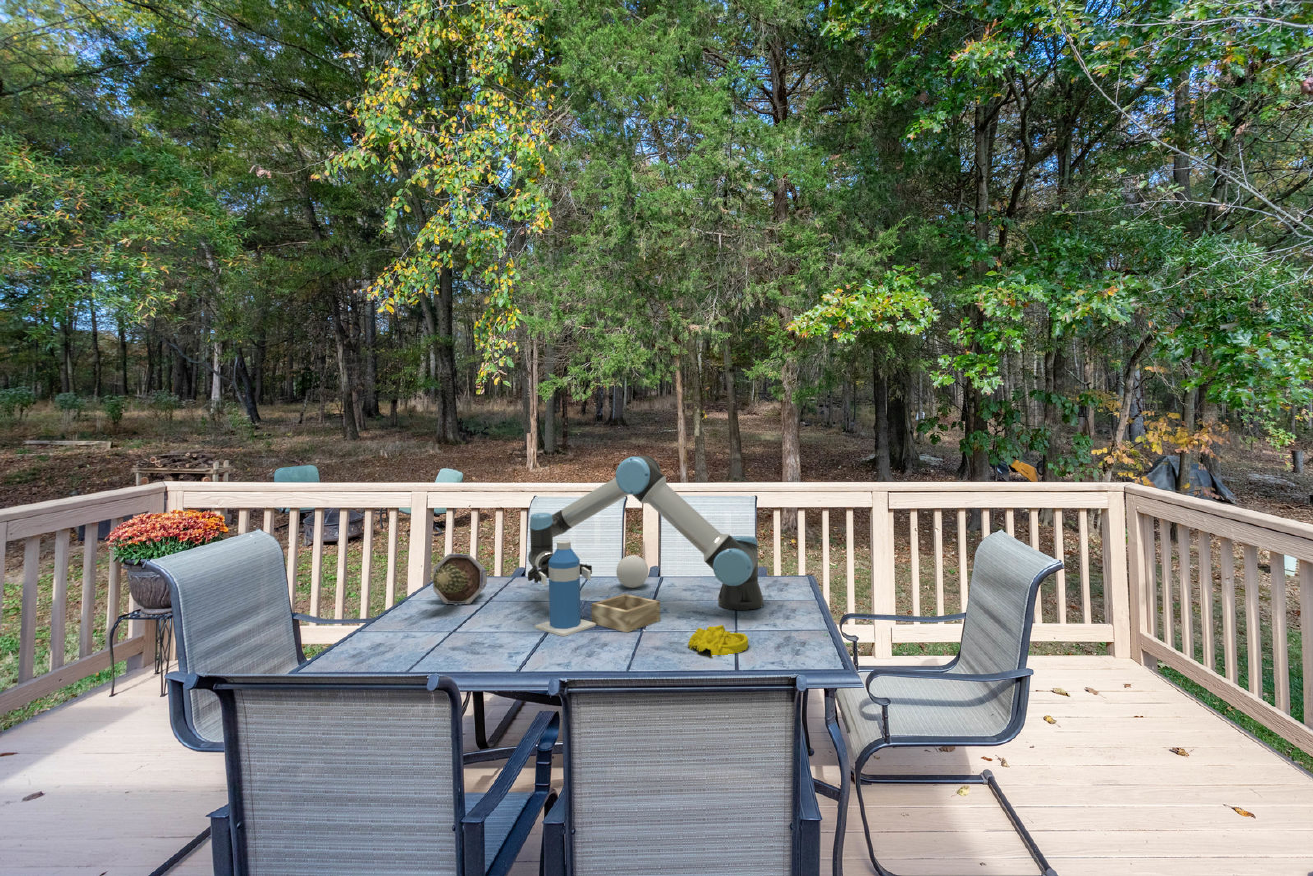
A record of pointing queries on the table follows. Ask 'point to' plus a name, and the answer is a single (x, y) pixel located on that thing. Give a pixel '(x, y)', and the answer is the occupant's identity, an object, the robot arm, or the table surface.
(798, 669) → the table surface
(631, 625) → the holder collar
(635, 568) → the decorative ball
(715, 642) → the door knocker
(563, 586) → the water bottle
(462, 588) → the potted plant
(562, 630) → the plate
